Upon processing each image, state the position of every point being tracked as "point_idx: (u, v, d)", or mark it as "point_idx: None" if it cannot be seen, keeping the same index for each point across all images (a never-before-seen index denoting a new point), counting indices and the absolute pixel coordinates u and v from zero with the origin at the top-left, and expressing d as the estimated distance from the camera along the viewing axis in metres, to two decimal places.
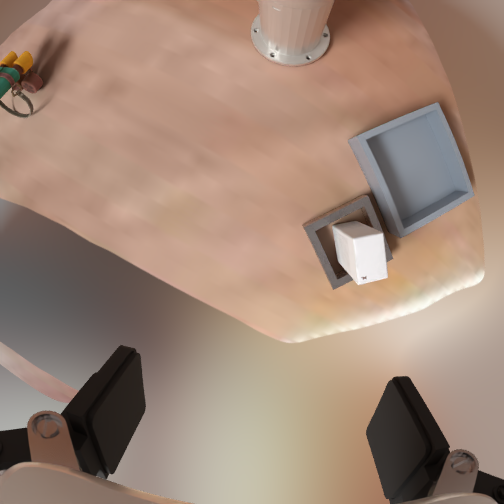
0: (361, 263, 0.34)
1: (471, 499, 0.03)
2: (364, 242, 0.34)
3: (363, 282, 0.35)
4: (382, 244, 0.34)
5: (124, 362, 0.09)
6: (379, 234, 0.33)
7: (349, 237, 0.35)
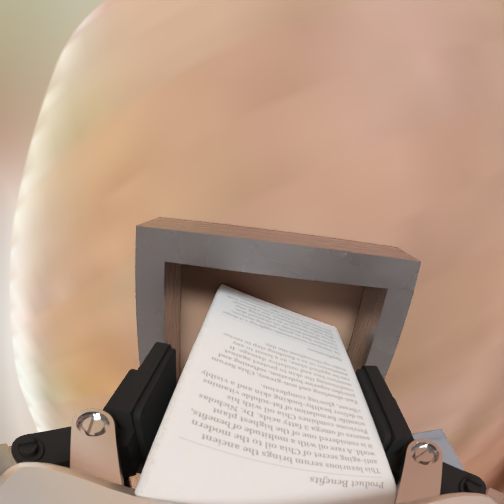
0: None
1: (471, 499, 0.03)
2: None
3: None
4: None
5: (163, 358, 0.09)
6: None
7: None
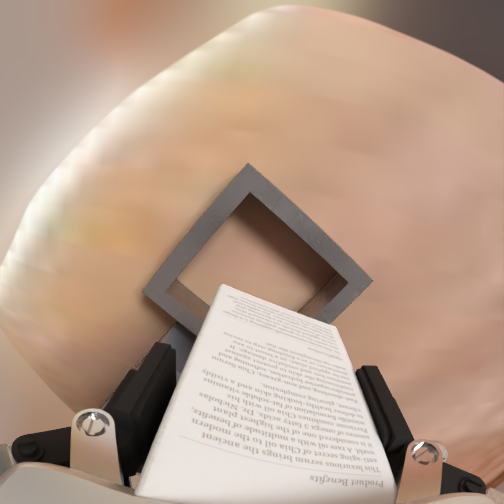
0: None
1: (471, 499, 0.03)
2: None
3: None
4: None
5: (163, 358, 0.09)
6: None
7: None
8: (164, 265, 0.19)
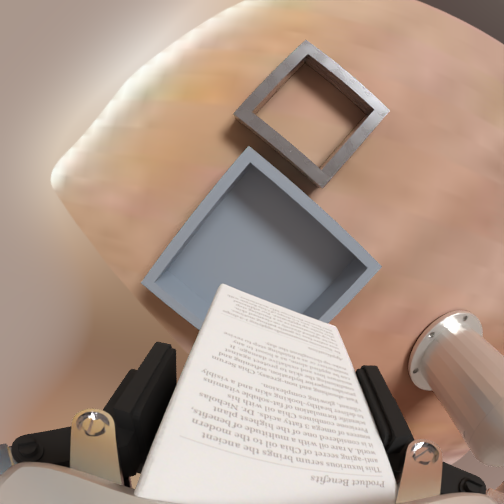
0: None
1: (471, 499, 0.03)
2: None
3: None
4: None
5: (163, 358, 0.09)
6: None
7: None
8: (252, 94, 0.25)
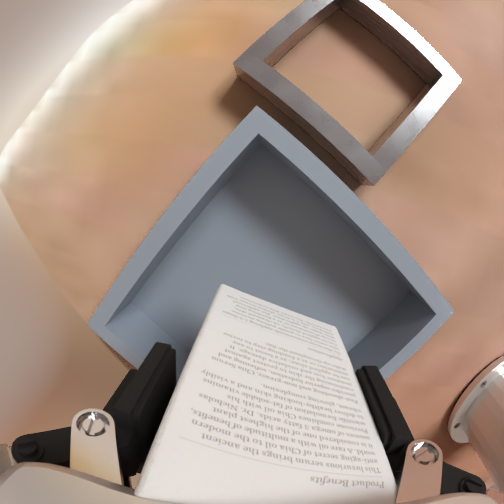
0: None
1: (471, 499, 0.03)
2: None
3: None
4: None
5: (163, 358, 0.09)
6: None
7: None
8: (264, 36, 0.14)
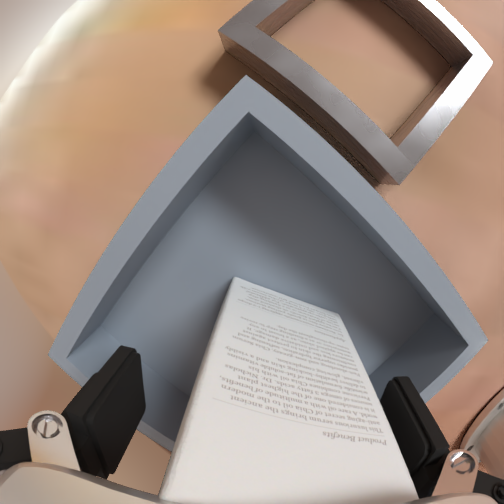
0: None
1: (471, 499, 0.03)
2: None
3: None
4: None
5: (124, 362, 0.09)
6: None
7: (409, 477, 0.05)
8: None
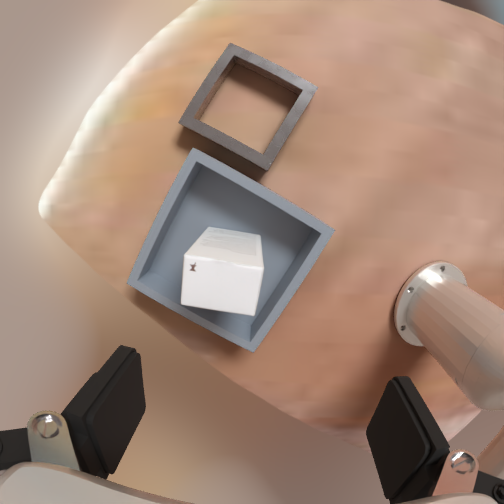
0: (219, 269, 0.22)
1: (471, 499, 0.03)
2: (250, 284, 0.22)
3: (185, 264, 0.22)
4: (236, 310, 0.23)
5: (124, 362, 0.09)
6: (254, 310, 0.23)
7: (261, 261, 0.23)
8: (191, 102, 0.28)
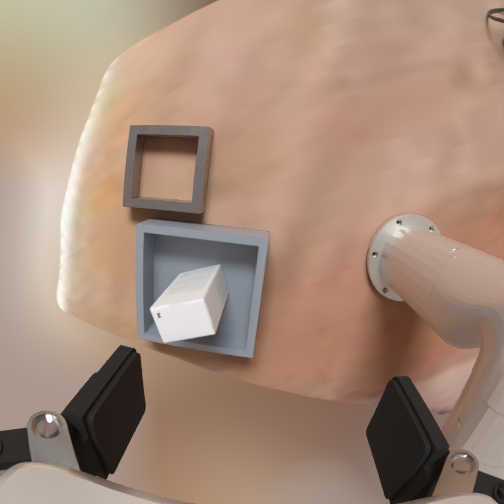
0: (175, 310, 0.28)
1: (471, 499, 0.03)
2: (200, 312, 0.28)
3: (153, 314, 0.28)
4: (201, 334, 0.29)
5: (124, 362, 0.09)
6: (212, 330, 0.29)
7: (205, 292, 0.29)
8: (124, 186, 0.36)
